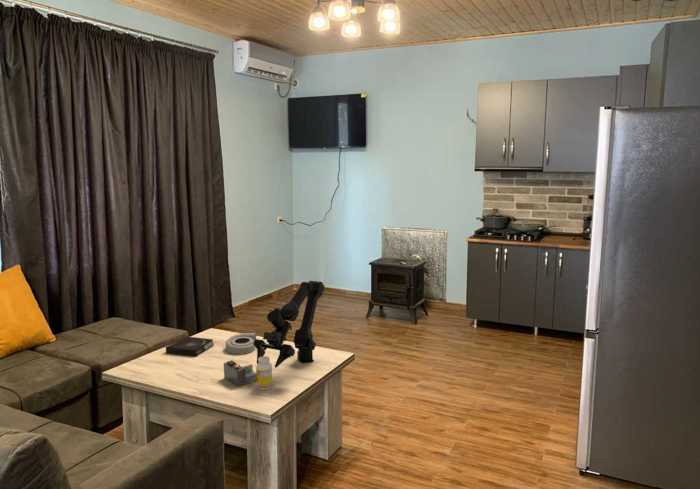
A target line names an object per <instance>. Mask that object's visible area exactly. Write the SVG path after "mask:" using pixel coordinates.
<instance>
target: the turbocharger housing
mask: <svg viewBox="0 0 700 489" xmlns="http://www.w3.org/2000/svg"><path fill="white" fill-rule="evenodd" d="M256 339H257V334H256V332H251V333H250V332H242V333H238V334H237V333H236V334H235V335H232V336H230V337H228V338H227V339H226V341H225V350H226V352H228V353H229V354H232V355H245V354H249V353H250V352H252V351H254V350H255V349H256V347H255V346H254V345H253V342H254V340H256Z"/></svg>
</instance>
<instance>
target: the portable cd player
mask: <svg viewBox="0 0 700 489" xmlns="http://www.w3.org/2000/svg"><path fill="white" fill-rule="evenodd" d="M214 345H215V344H214V340H213V338H212V339H211V338H203V337H195V336H182V337H181V338H178V339H177V340H175V341H173V342H172V343H169V344H168V345H167V346H165V354H168V355H175V356H183V357H192V358H196V357H198V356H200V355H201V354H203V353H205V352H206V351H208V350H209V349H211V348H213V347H214Z"/></svg>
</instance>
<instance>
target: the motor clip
mask: <svg viewBox="0 0 700 489" xmlns="http://www.w3.org/2000/svg"><path fill="white" fill-rule="evenodd" d="M223 377H224V379H225V380H226V381H228V382H230V383H231V384H232V385H234V386H235V387H241V386H245V385H246V384H251V383H253V382H257V378H256V372H255V371H254V370H253V364H248V365H246V366H244V365H243V366H241V364H239V363H237V362H236V361H234V360H228V361H226V362H223Z"/></svg>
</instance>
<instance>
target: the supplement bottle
mask: <svg viewBox="0 0 700 489" xmlns="http://www.w3.org/2000/svg"><path fill="white" fill-rule="evenodd" d="M258 362H259V363H258V364H257V363H256V367H255V370H256V372H255V373H256V378H257V381H256V389H259V390H263V391H266V390H270V389H271V388H273V364H272V363H271V362H270V357H269V356H265V355H264V356H263V357H260V358H258Z"/></svg>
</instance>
